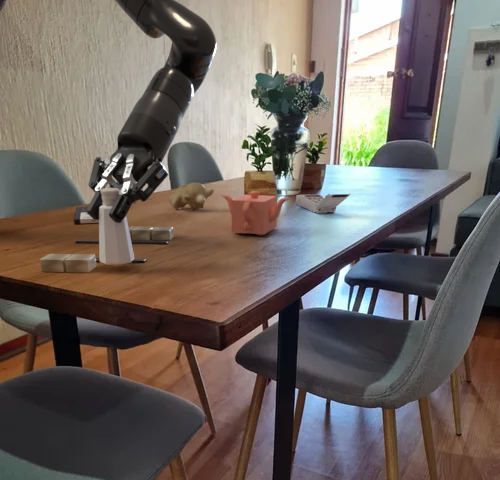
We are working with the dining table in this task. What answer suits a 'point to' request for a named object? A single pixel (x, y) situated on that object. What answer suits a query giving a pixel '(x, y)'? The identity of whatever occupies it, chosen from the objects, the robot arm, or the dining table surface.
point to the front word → (72, 262)
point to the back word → (144, 235)
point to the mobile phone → (321, 202)
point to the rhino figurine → (190, 196)
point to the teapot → (254, 213)
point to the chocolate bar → (83, 216)
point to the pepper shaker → (113, 233)
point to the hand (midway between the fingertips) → (103, 217)
